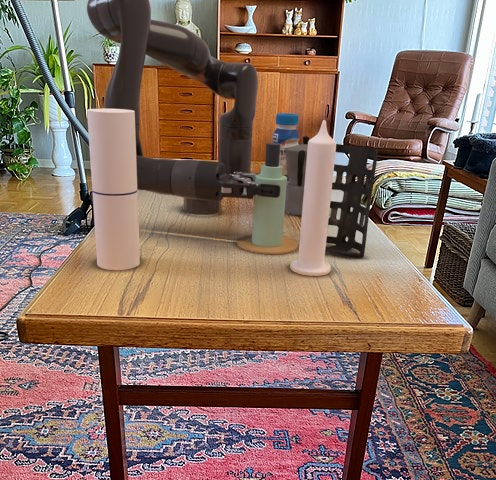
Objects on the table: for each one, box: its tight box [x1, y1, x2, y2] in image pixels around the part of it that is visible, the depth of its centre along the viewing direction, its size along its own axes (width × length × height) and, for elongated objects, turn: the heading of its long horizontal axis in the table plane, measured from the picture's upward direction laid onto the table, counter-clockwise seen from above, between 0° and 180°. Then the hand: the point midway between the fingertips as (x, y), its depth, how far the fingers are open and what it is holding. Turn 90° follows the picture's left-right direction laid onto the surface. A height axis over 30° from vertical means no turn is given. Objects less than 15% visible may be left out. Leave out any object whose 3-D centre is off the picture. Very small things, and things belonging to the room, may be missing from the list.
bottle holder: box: [182, 197, 222, 216], centre depth 125 cm, size 9×9×6 cm
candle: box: [289, 119, 337, 277], centre depth 88 cm, size 7×7×25 cm
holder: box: [325, 143, 379, 259], centre depth 100 cm, size 11×8×20 cm
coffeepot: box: [284, 135, 311, 217], centre depth 126 cm, size 15×9×18 cm, turn 168°
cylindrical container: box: [86, 108, 141, 271], centre depth 87 cm, size 7×7×25 cm
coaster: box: [236, 235, 299, 255], centre depth 105 cm, size 12×12×1 cm
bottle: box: [251, 142, 288, 247], centre depth 101 cm, size 6×6×19 cm
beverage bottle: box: [271, 112, 300, 185], centre depth 162 cm, size 8×8×20 cm
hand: (283, 188), depth 100 cm, fingers closed on bottle, 6 cm apart
